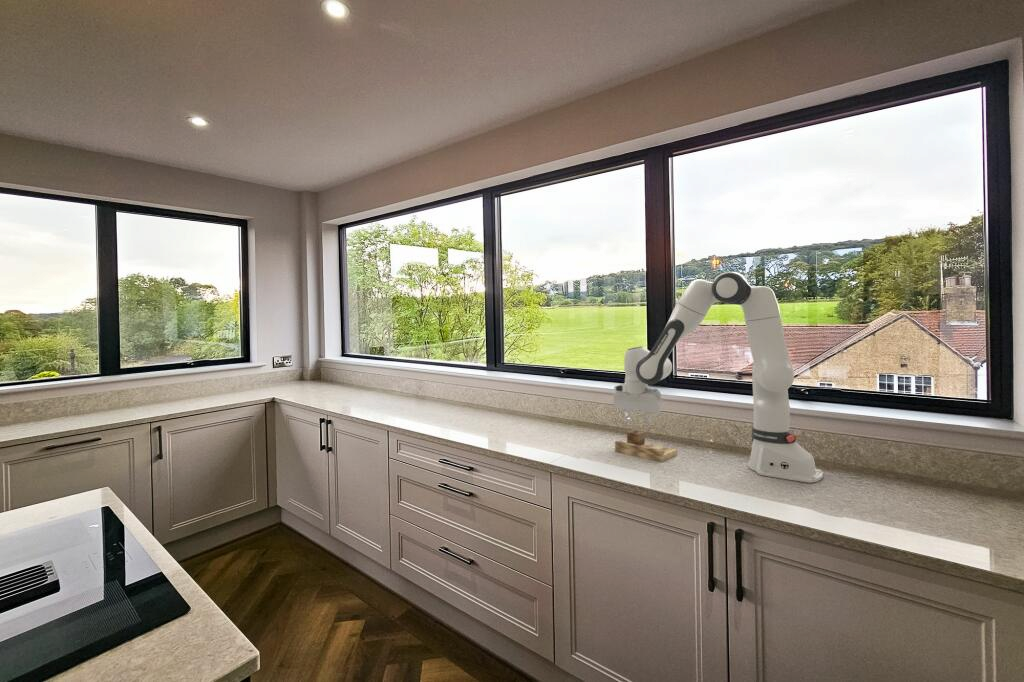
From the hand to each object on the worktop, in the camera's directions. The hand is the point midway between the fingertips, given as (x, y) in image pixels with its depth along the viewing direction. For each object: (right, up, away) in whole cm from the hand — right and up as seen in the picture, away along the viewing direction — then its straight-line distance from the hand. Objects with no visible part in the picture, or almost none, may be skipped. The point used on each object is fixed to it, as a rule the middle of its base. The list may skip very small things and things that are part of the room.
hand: (637, 421), depth 191 cm
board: (+2, -12, -4) cm, 13 cm away
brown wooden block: (-1, -9, +1) cm, 9 cm away
